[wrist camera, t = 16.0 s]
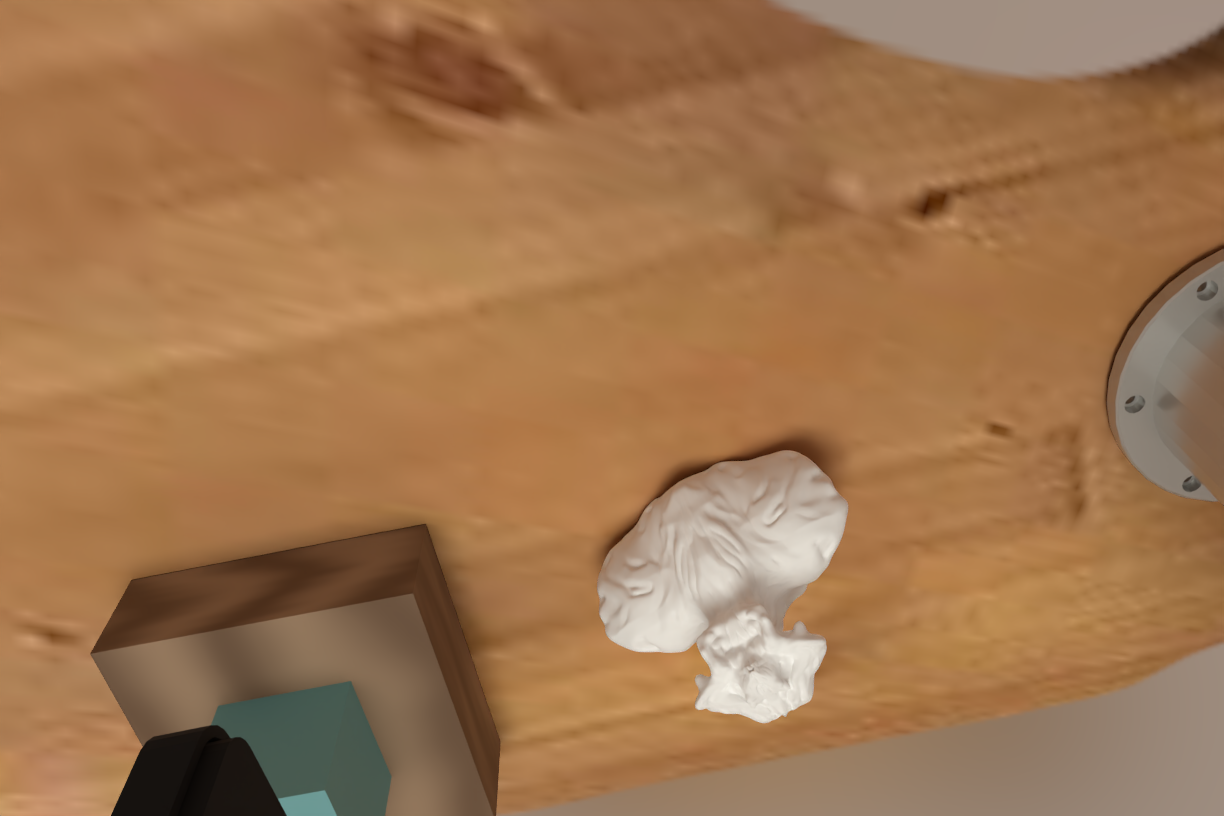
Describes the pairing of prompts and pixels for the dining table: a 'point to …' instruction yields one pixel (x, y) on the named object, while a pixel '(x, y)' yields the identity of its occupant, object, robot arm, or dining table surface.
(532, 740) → the dining table surface
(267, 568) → the walnut block
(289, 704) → the teal cube
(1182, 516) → the dining table surface
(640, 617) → the bust
